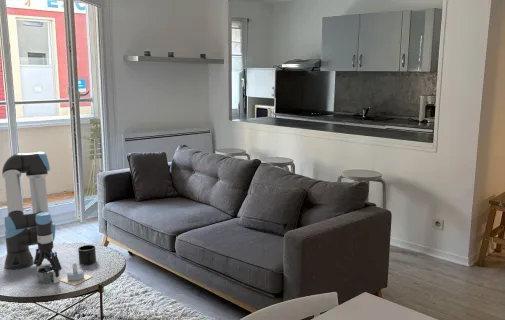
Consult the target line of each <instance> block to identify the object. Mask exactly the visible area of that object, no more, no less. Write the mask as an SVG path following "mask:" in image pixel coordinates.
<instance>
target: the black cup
mask: <svg viewBox="0 0 505 320" xmlns="http://www.w3.org/2000/svg"><path fill="white" fill-rule="evenodd" d="M77 250H78V252H77V253H78V263H79V265H80V266H90V265H93V264H96V262H97V254H96V253H97V252H96V246H95V245H92V244H86V245H82V246H79V247H78V249H77Z"/></svg>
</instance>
